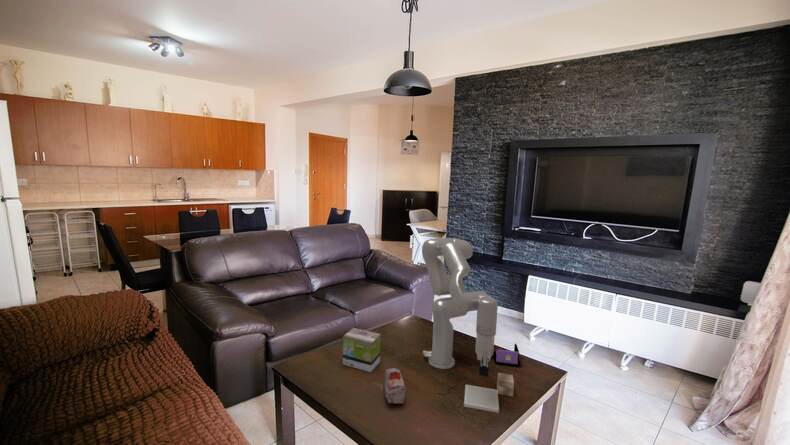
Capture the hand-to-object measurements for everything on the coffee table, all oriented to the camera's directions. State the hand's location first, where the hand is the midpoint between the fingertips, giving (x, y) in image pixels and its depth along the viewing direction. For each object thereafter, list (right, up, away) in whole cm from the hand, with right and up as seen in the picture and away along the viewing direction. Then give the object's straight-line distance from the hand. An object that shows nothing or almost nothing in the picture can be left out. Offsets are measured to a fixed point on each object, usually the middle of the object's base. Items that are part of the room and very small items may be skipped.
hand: (483, 373), depth 137 cm
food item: (-36, -10, +2) cm, 37 cm away
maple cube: (+11, -5, +7) cm, 14 cm away
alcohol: (+10, -7, +38) cm, 40 cm away
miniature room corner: (+20, -8, +34) cm, 40 cm away
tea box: (-51, -7, +25) cm, 57 cm away
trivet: (-1, -11, +2) cm, 11 cm away
